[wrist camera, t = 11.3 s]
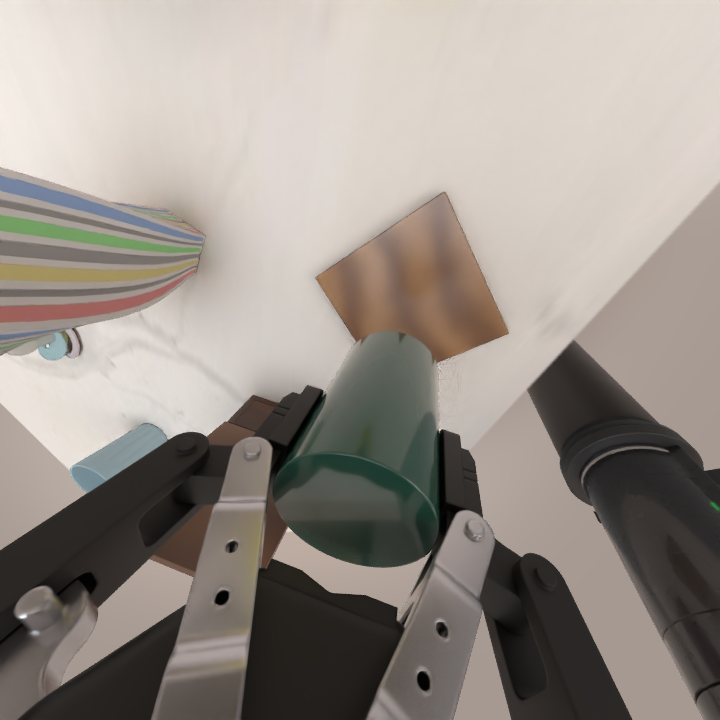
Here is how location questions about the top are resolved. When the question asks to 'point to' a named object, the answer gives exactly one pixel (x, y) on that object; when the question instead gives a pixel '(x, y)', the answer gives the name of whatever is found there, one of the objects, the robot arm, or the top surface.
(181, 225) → the vase
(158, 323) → the top surface
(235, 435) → the lid
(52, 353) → the pacifier
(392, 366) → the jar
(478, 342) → the plate
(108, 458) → the cup
